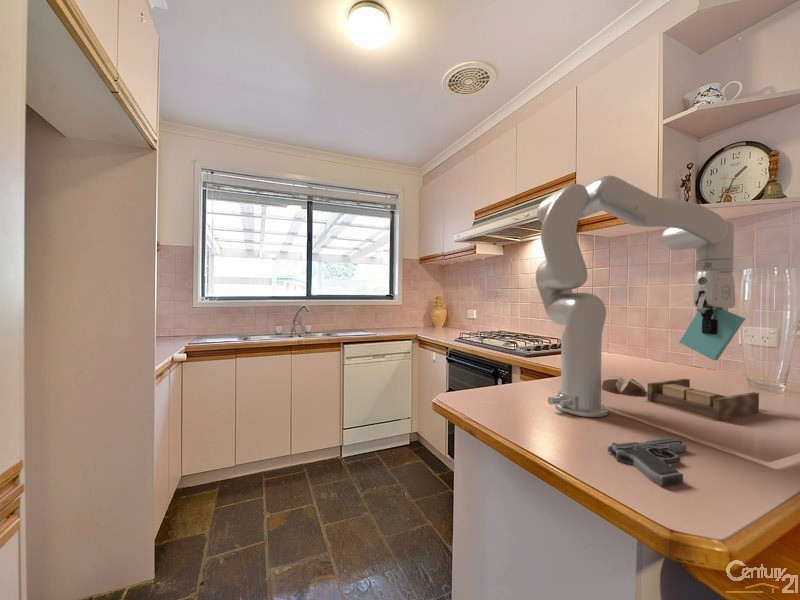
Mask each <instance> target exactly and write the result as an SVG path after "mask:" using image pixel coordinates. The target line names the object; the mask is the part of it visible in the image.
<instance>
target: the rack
mask: <svg viewBox="0 0 800 600" xmlns="http://www.w3.org/2000/svg"><path fill="white" fill-rule="evenodd" d="M690 383H691V379H690V378H689V379H688V378H681V379H680V378H679V379H673V380H672V379H671V380H663V381H654V382H648V383H647V399H646V400H645V402H647V403H650V404H654V405H656V406H660V407H664V408H667V409H670V410H674V411H678V412H681V413H683V414H684V413H685V414H688V415H691V416H695V417H699V418H701V419H704V420H705V419H706V420H709V421H712V422H716V423H717V422H721V421H725V420H726V421H727V420H731V419H735V418H740V417H746V416H751V415H755V414H759V413H764V412H767V410H764V409H761V408H759V407H760V393H759V392H756V391H755V392H754V391H752V392H747V393H741V394H735V395H734V394H733V395H728V396H727V395H723V394H720V398H715V399H713V407H710V406H706V405H702V404H698V403H694V402H690V401H687V400H683V399H679V398H675V397H671V396H667V395H663V385H667V384H675V385H679V386H684V387H688V388H691V387H690V386H691V384H690Z"/></svg>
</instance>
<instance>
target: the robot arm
mask: <svg viewBox="0 0 800 600" xmlns="http://www.w3.org/2000/svg"><path fill="white" fill-rule="evenodd" d="M601 211H602V212H604V213H607V214H609V215H611V216H613V217H614V218H617V219H618V220H620V221H623V222H625V223H626V224H628V225H630V226H633V227H642V228H643V227H645V228H651V227H652V228H654V227H657V228H659V227H660V228H663V227H664V228H665V229H664V230H663V232H662V234H661V238H660V241H661V242H662V244H663V246H665V247H667V248H668V249H671V250H675V251H682V250H688V249H689V250H691V249H694V250H695V261H694V262H695V268H694V270H695V271H694V273H695V277H694V278H695V279H694V287H693V305H694V306H695V307H696V311H697V312H700V313H701V319H702V333H703V334H714V335H715V334H717V324H718V320H715V319H716V308H721V309H723V310H726V311H728V312H729V309H732V308H735V306H736V288H735V287H736V286H735V279H734V274H733V272H734V251H735V250H734V249H735V248H734V246H735V245H734V244H735V243H734V242H735V226H734V223H733V222H732V221H728V220H726V219H724V217H723V216H721V215H720V214H719V213H717V212H715V211H713V210H711V209H709V208H707V207H705V206H704V205H701V204H698V203H695V202H691V201H685V200H680V199H679V200H678V199H672V198H664V197H658V196H655V195H652V194H650V193H648V192H646V191H645V190H642V189H641V188H638V187H637V186H635V185H634V184H631V183H629V182H628V181H625V179H624V180H623V179H621V178H620V177H617V176H614V175H604V176H601V177H598V178H597V179H595V180H594V181H592V182H590V183H588V184H587V185H586V184H585V185H583V184H580V183H572V184H569V185H567V186H564V187H562V188H561V189H559V190H557V191H556V192H554V193H553V194H552V195H549V196H548V197H547V198H545V199H543V200H542V201H541V202H540V203H539V205H538V206H537V211H536V216H537V218H538V221H539V222H540V223H541V229H540V231H541V232H540V241H541V245H542V249H543V253H544V257H545V259H544V260H543V261H542V262H541V263H540V264H539V265H538V266H537V269H536V270H535V271H536V272H535V283H536V286H537V289H538V292H539V295H540V296H539V297H540V299H541V302H542V305H543V306H544V310H545V314H546V315H547V316H548V318H549V320H551V322H553V323H555V324H556V325H561V326H565V327H564V329H563V331H562V332H563V333H562V337H561V343H560V351H561V352H560V353H561V355H560V356H561V357H560V390H559V391H558V392H557V395H556V396H549V397H547V403H548V404H549V405H551V406H552V405H554V406H555V408H556V409H557V410H560V411H561V412H563V413H567V414H570V415H573V416H574V415H575V416H580V417H584V418H586V417H588V418H598V417H599V418H601V417H605V416H606V417H607V415H608V414H609V409H608V408H607V407H606V405H604V404H602V343H603V342H602V341H603V340H602V339H603V333H604V332H603V331H604V325H605V322H606V318H607V308H606V305H605V302H604V301H603V300H602V299H601V298H600V297H599V296H597V295H595V294H593V293H589V292H574V291H573V290H575V289H578V288H580V287H583V286H584V285H585V284H586V282H587V281H588V276H589V274H588V268H587V265H586V262H585V259H584V256H583V253H582V251H581V247H580V244H579V240H578V237H577V226H578V222H579V219H583V218H586V217H588V216H591V215H593V214H598V213H599V212H601ZM706 306H712V308H706ZM710 310H711V312H710Z"/></svg>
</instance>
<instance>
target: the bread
mask: <svg viewBox="0 0 800 600" xmlns="http://www.w3.org/2000/svg"><path fill="white" fill-rule="evenodd" d="M601 391H605V392H608V393H611V394H616V395H623V396H629V397H641V396H642V397H643V396H644V395H646V388H645V387H644V386H643V385H642V384H641V383H640V382H638V381H636V380H635V379H634V378H630V379H627V380H625V379H624V378H623V377H621V376H610V377H607V378H606V379H605V380H603V382H601Z"/></svg>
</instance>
